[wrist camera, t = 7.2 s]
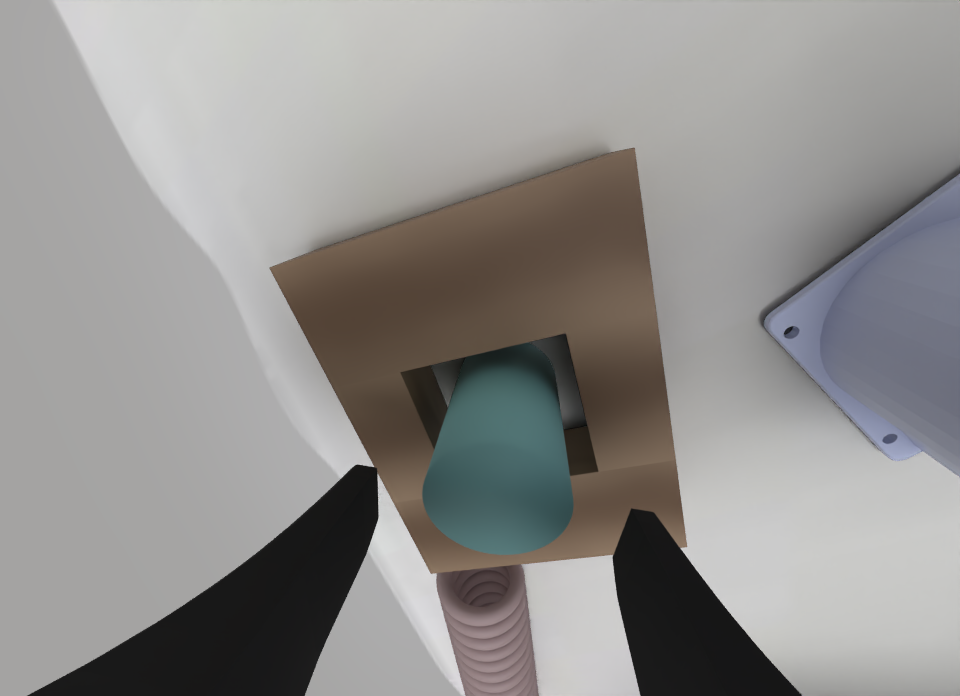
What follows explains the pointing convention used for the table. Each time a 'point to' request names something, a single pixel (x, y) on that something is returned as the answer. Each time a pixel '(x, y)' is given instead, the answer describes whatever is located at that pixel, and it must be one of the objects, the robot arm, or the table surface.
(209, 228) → the table surface
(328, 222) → the table surface
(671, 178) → the table surface
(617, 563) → the robot arm
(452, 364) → the table surface
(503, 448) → the teal peg
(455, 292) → the socket block
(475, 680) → the coil
